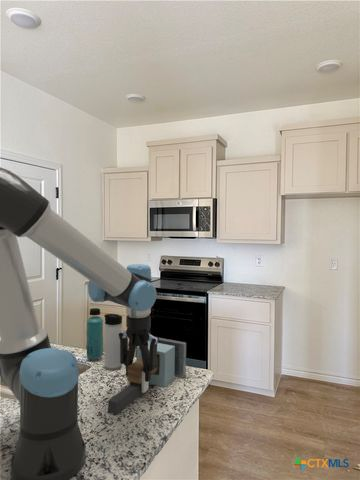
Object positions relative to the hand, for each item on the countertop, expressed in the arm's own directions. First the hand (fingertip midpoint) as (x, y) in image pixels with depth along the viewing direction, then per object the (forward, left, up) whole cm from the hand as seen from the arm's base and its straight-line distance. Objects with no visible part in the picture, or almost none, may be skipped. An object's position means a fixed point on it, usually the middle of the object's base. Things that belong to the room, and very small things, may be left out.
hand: (138, 388), depth 104 cm
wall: (+17, 0, -2) cm, 17 cm away
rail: (-4, 0, -2) cm, 4 cm away
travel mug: (+12, +19, -2) cm, 23 cm away
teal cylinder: (+15, +30, -2) cm, 34 cm away
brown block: (+4, 0, +3) cm, 5 cm away
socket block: (+11, 0, -1) cm, 11 cm away
